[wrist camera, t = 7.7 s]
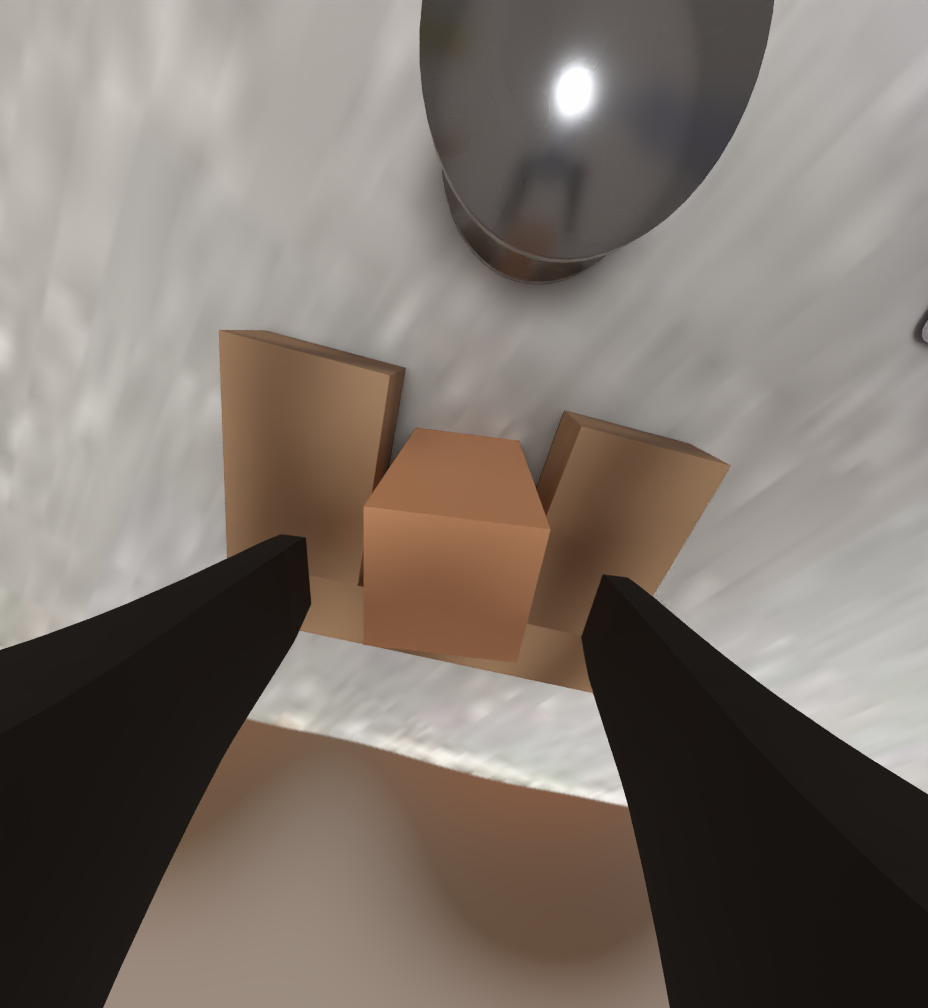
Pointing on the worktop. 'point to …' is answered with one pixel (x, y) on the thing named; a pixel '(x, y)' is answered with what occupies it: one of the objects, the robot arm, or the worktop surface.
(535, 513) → the brown block
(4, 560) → the worktop surface
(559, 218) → the doorknob
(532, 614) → the notched board
